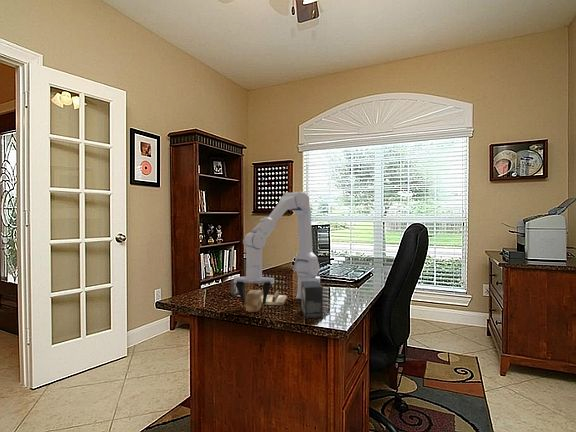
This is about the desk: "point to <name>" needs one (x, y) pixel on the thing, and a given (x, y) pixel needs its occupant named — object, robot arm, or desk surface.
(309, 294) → the small box
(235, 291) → the mini dv tape
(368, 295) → the desk surface
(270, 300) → the post slot base
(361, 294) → the desk surface
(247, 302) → the rail end block
